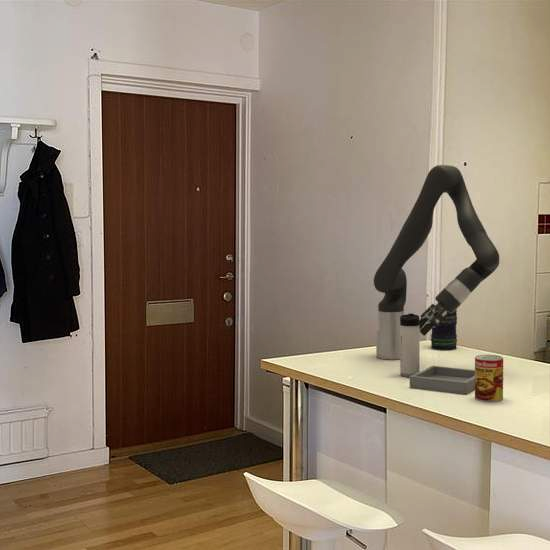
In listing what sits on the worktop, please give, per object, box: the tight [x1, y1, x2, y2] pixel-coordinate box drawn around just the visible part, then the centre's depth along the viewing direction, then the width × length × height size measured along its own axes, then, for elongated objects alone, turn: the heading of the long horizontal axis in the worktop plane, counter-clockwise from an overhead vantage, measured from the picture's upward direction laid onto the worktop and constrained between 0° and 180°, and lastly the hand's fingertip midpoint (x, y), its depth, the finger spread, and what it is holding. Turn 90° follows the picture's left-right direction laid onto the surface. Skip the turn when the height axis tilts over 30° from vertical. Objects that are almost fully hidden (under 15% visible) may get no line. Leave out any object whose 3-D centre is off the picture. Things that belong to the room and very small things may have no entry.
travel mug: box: [399, 313, 421, 378], centre depth 259 cm, size 6×7×20 cm
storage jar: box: [430, 309, 458, 352], centre depth 305 cm, size 10×10×15 cm
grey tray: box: [409, 365, 475, 395], centre depth 245 cm, size 18×18×4 cm
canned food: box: [474, 354, 504, 403], centre depth 228 cm, size 8×8×12 cm
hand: (418, 331), depth 259 cm, fingers open, 8 cm apart
